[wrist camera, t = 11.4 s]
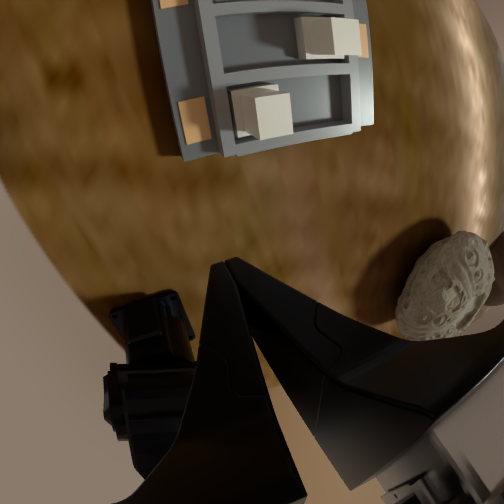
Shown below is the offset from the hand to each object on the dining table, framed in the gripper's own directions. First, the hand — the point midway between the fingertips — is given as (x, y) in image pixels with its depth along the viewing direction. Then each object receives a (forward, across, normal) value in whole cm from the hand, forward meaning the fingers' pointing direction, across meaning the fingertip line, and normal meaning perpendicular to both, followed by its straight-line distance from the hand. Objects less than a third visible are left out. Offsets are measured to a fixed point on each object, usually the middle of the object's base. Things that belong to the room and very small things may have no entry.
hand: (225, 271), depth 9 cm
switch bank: (+13, -8, -7) cm, 17 cm away
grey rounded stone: (+13, -30, +23) cm, 40 cm away
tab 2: (+11, -11, -7) cm, 17 cm away
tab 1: (+11, -5, -2) cm, 13 cm away
